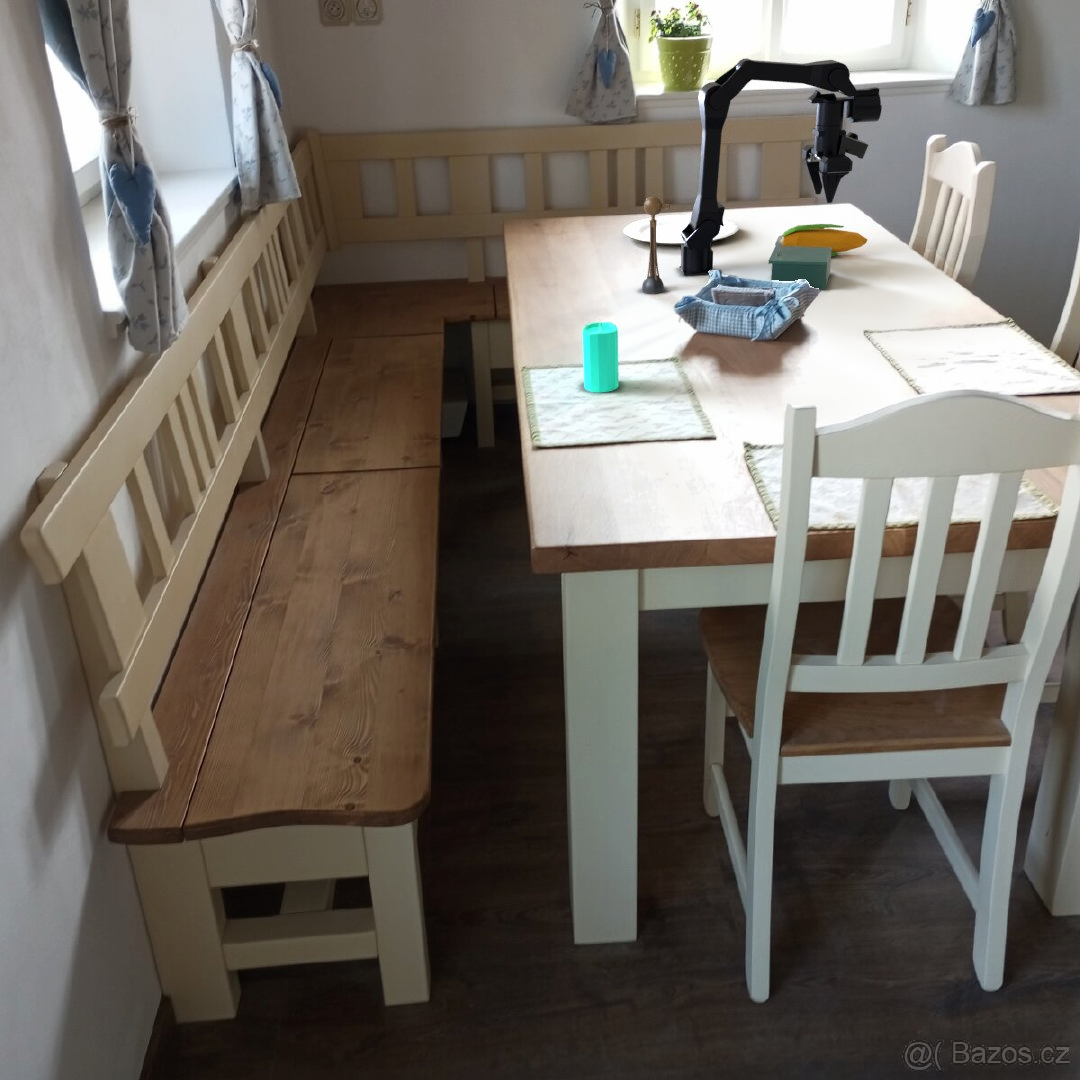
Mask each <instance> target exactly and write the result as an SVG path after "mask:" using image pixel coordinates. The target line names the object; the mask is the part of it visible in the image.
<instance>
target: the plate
mask: <svg viewBox="0 0 1080 1080" xmlns="http://www.w3.org/2000/svg"><path fill="white" fill-rule="evenodd" d="M691 215H692V214H686V215H684V214H683V215H682V214H680V215H663V216H657V217H656V216H655V220H657V221H656V245H659V246H679V247H681V243H685V242H684V241H683V239H682V236H681V233H680V232H681V231H682V230H683V229H684V228H685V227H686V226H687V225H688V224H689V223H690V220H691ZM649 220H651V217H649V218H645V219H641V220H636V221H634V222H632V223H630V224H628V225H627V226H625V227H624V229H623V233H624V235H625V236H626V237H628V238H630V239H632V240H635V241H639V242H644V243H648V244H650V221H649ZM723 224H724V226H721V228H720V232H719V234H718V235H717V236H716V237H715V238H713V240H712V242H716V241H720V240H724V239H727V238H729V237H732V236H734V235H735V234H737V233H738V232H739V225H737V224H736V222H733V221H731V220H729V219H726V218H723Z"/></svg>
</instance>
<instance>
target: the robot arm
mask: <svg viewBox="0 0 1080 1080" xmlns="http://www.w3.org/2000/svg"><path fill="white" fill-rule="evenodd" d="M850 75H851V73H850V70H849V68H848V66H847V64H845V63H843V62H840V61H837V60H834V59H827V60H826V59H823V60H817V61H811V62H806V63H796V62H783V61H782V62H781V61H772V60H771V61H768V60H756V59H750V58H747V57H746V58H742V59H740V60H739V61H738V62H737V63H735V65H734V66H733V67H731V68H730V69H729V70H727V71H725V72H724V73H723V74H722V75H720V76H719V77H718V78H716V79H715V80H714V81H711V82H707V83H706V84H704V85H703V86H702V87H701V88H700V89H699V92H698V107H699V109H698V110H699V115H700V120H701V127H702V131H701V147H700V160H699V174H698V175H699V176H698V177H699V178H698V191H697V196H696V199H695V202H694V204H693V207H692V211H691V214H690V215H691V220H690V223H689V224H688V225H687V226H686V227H685V228H684V229H683V230H682V231H681V232H680V233H681V236H682V239H683V241H684V242H685V243H681V246H680V266H679V270H680V272H681V274H682V275H683V276H696V275H697V276H699V275H709V274H708V271H709V270H711V271H712V270H713V268H714V251H713V249H712V243H713V241H712V240H713V238H715V237H716V236H717V235H718V234H719V232H720V228H721V226H724V224H723V219H724V215H725V209H726V207H725V206H724V205H723V204H722V203H721V201H718V187H719V171H720V159H721V147H722V135H723V134H722V132H723V128H724V125H725V123H726V120H727V117H728V115H729V110H730V105H731V102H732V100H733V99H735V97H737V96H738V95H739V94H740V92H741V91H743V89H744V88H745V87H746V86H747V85H748V84H749V83H750V82H751V81H764V82H776V83H788V84H789V83H790V84H803V85H807V86H811V87H814V88H818V89H821V90H825V91H828V92H829V93H821V91H819V90H817V89H816V90H814V92H813V93H812V94H811V95H810V96H809V97H807V102H808V103H810V104H812V105H814V104H816V114H815V127H813V128H812V134H813V135H814V143H813V144H806V145H805V146H804V147H803V148H802V152H801V153H802V154H801V159H803V163H804V165H805V168H806V171H807V174H808V177H809V179H810V182H811V186H812V188H813V191H814V194H815V195H821V193H822V191H823V194H824V197H825V202H826V203H827V204H832V203H833V201H834V199H835V196H836V193H837V190H838V187H839V184H840V182H841V181H842V179H843V178H844V177H845V176H846V175H849V174H850V172H851V171H853V165H854V164H853V163H854V162H853V160H852V159H851V158H850V157H849V156H847V155H846V154H849V155H851V156H855V157H857V158H858V159H861V160H863V159H864V158H865V157H864V156H865V155H866V153H867V150H868V147H869V144H868V143H866V142H865V141H862V140H861V139H859V134H857V133H855V132H852V131H849V132H848V133H847V131H846V129H844V127H843V126H844V118H845V119H848V122H849V123H850V124H855V123H856V124H857V123H871V122H872V123H875V122H878V121H879V120H880V118H881V115H882V109H883V107H882V106H883V105H882V100H881V96H880V88H879V87H876V86H873V87H868V88H856V86H855V85H854V83H853V82H852V81H851V79H850V77H851V76H850ZM835 93H839V94H841V95H844V96H842V97H839V96H837V95H836V94H835Z"/></svg>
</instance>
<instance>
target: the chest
mask: <svg viewBox="0 0 1080 1080" xmlns="http://www.w3.org/2000/svg"><path fill="white" fill-rule="evenodd" d="M831 252H832V251H831ZM831 262H832V256H831V254H830V257H829V260H828V264H827V266H825V265H794V264H771V279H770V281H771V280H779V281H795V280H798V279H806V280H807V281H808V282H809V284H810V286H812V287H814V288H819V289H820V290H819V291H826V288H827V285H828V282H829V278H830V273H831V265H832V263H831Z"/></svg>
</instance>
